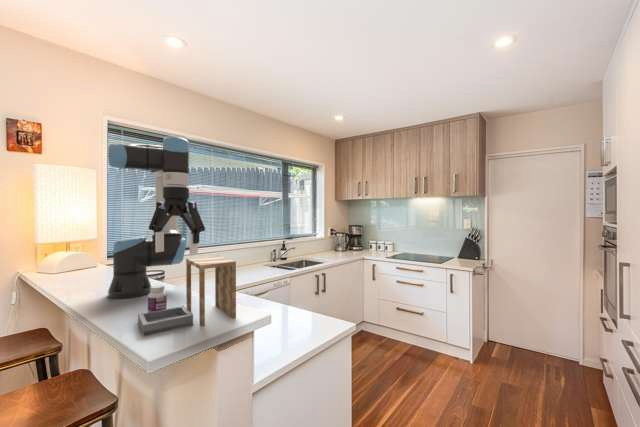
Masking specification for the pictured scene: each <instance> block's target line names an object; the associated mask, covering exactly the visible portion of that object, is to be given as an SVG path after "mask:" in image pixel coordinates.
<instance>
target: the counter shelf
mask: <svg viewBox="0 0 640 427" xmlns="http://www.w3.org/2000/svg"><path fill="white" fill-rule="evenodd" d="M185 262H186V264H185V266H186V268H185V269H186V271H185V272H186V273H185V274H186V276H185V277H186V281H185V282H186V286H185V287H186V290H185V291H186V294H185V295H186V297H185V298H186V308H187V309H188V310H189V311H190V312H191V313H192V266H193V267H195V268H197V269H198V276H199V278H198V280H199V281H198V283H199V284H198V286H199V291H198V292H199V293H198V296H199V300H198V301H199V302H198V303H199V308H198V309H199V310H198V311H199V322H198V323H199V326H200V327H204V326H205V324H206V323H205V322H206V320H205V318H206V317H205V316H206V310H205V309H206V308H205V307H206V306H205V305H206V304H205V303H206V300H205V298H206V297H205V295H206V294H205V293H206V292H205V289H206V287H205V286H206V282H205V281H206V279H205V278H206V276H205V274H206V273H205V272H206V271H205V270H206V269H207V270H208V269H215V270H214V271H215V272H214V273H215V274H214V277H215V278H214V279H215V280H214V282H215V283H214V284H215V285H214V287H215V288H214V290H215V292H214V297H215V298H214V301H215V303H214V304H215V307H216V308H219V309H220V310H221V311H223V312H225V313H226V314H227V315H228V316H229V317H230V318H231V319H236V318H237V269H236V268H237V262H236V261H235V260H232V259H230V258H227V257H224V256H220V255H210V256H209V255H208V256H200V257H189V258H188V257H187V258H186V260H185Z"/></svg>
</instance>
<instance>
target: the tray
mask: <svg viewBox="0 0 640 427" xmlns="http://www.w3.org/2000/svg"><path fill="white" fill-rule="evenodd" d="M137 325H138V327H139V330H140V331H141V334H142V336H143V337H146V336H150V335H154V334H159V333H163V332H168V331H171V330H176V329H180V328H185V327H189V326H193V325H194V314H193V313H192V311H191V312H190V311H189V310H188V309H187V306H185V305H181V306H175V307H170V308H166V309H163V310H158V311H153V312H148V311H147V312H142V313H138V314H137Z"/></svg>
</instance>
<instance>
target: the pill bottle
mask: <svg viewBox="0 0 640 427" xmlns="http://www.w3.org/2000/svg"><path fill="white" fill-rule="evenodd" d="M150 291H151V292H150V293H148V296H147V312H153V311H158V310H163V309H167V301H168V300H167V292H166V291H165V285H164V284H158V285H153V286H152V285H151V288H150Z"/></svg>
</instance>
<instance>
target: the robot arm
mask: <svg viewBox="0 0 640 427" xmlns="http://www.w3.org/2000/svg"><path fill="white" fill-rule="evenodd" d="M107 147H108V148H107V149H108V150H107V153H108V154H107V159H108V161H107V162H108V165H109V167H111V168H115V169H125V170H126V169H130V170H139V171H146V172H148V171H149V172H151V173H150V175H151V176H152V177H153V178H154V181H155V182H154V184H155V185H154V187H155V192H154V193H155V210H154V213H153V215H152V217H151V221H150V222H149V225H148V230H151V231H153V234H152V235H151V238H149V239H147V236H146V235H140V236H132V237H131V236H130V237H127V238H122V239H118V240H115V242H113V247H112V248H113V250H112V254H113V255H112V256H113V261H112V263H113V266H112V267H113V268H112V269H113V272H112V273H113V276H112V280H111V283H110V286H109V288H108V290H107V291H108V292H107V294H108V295H107V297H108V298H110V299H130V298H135V297H136V298H137V297H141V296H145V295H147V294H148V295H149V294H150V293H151V291H150V288H151V287H152V285H151V281H150V279H149V276H148V274H147V268H149V267H161V266H162V267H163V266H172V265H179V264H181V263H182V262H183V260H184V259H185V258H184V256H185V253H186V252H185V251H186V238H185V237H183V236H182V233H181V232H180V231H179V229H178V228H179V227H178V217H180V218H182V220H183V222H184V223H185V224H186V226H187V228H188V229H189V230H190V233H189V256H190V255H191V256H193V255H197V254H199V246H198V245H199V244H200V233H202V232H205V231H206V227H205V225H204V223H203V220H202V218H201V215H200V213H199V210H198V208H197V201H188V200H189V199H190V188H189V186H190V172H189V169H190V168H189V166H190V165H189V163H190V146H189V141H188V139H185V138H183V137H177V136H166V137H164V138H163V139H162V145H156V144H146V143H133V144H132V143H131V144H121V143H119V144H114V143H111V144H109V145H108V146H107Z"/></svg>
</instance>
